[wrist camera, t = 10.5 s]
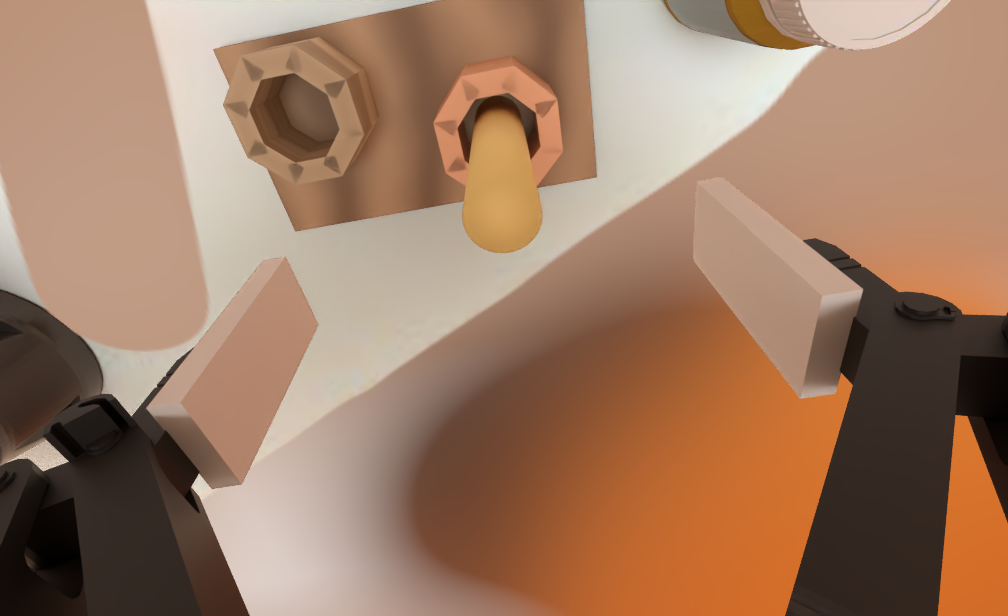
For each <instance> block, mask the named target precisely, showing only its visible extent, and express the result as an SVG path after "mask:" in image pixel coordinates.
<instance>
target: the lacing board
mask: <svg viewBox="0 0 1008 616" xmlns="http://www.w3.org/2000/svg"><path fill="white" fill-rule="evenodd" d="M316 37H321V38H322V39H323V40H325V41H326V42H328V43H329V44H331V45H332V46H334V47H335V48H337V49H338V50H339V51H341V52H342V53H344V54H345V55H347V56H348V57H350V58H351V59H353V60H354V61H355V62H357V63H358V64H360V65H361V66H363V67H364V68H365V71H366V75H367V78H368V81H369V84H370V88H371V91H372V94H373V97H374V101H375V104H376V107H377V111H378V114H379V118H378V120H377V122H376V124H375V126H374V128H373V130H372V131H371V133H370V135H369V137H368V139H367V141H366V143H365V145H364V147H363V148H362V150H361V152H360V154H359V155H358V157H357V158H356V159H355V161H354V162H353V163H352V164H351V166H350V167H349V168H348V170H347V171H346V172H345V173H344V175H343V176H341V177H335V178H330V179H325V180H319V181H314V182H309V183H303V184H298V185H295V184H293V183H292V182H290V181H288V180H286V179H285V178H283V177H281V176H279V175H278V174H276V173H274V172H272V171H271V170H269V169H267V170H268V172H269V174H270V176H271V179H272V181H273V183H274V185H275V187H276V190H277V192H278V194H279V196H280V198H281V201H282V203H283V205H284V207H285V209H286V212H287V214H288V216H289V218H290V221H291V223H292V225H293V227H294V229H295V231H301V230H306V229H312V228H317V227H323V226H328V225H334V224H340V223H345V222H351V221H356V220H362V219H367V218H373V217H378V216H384V215H390V214H395V213H401V212H406V211H412V210H417V209H423V208H428V207H434V206H439V205H445V204H451V203H456V202H462V201H464V197H465V189H466V186H465V185H463V184H462V183H460V182H459V181H457V180H455V179H454V178H452V177H451V176H449V175H448V174H446V172H445V168H444V164H443V160H442V156H441V152H440V148H439V144H438V140H437V136H436V132H435V128H434V124H433V123H434V120H435V118H436V115H437V113H438V111H439V108H440V106H441V104H442V103H443V101H444V99H445V98H446V96H447V94H448V92H449V91H450V89H451V87H452V86H453V84H454V82H455V81H456V79H457V77H458V75H459V74H460V72H461V70H462V69H463V67H464V65H467V64H472V63H476V62H481V61H486V60H491V59H496V58H501V57H506V56H511V55H512V56H513V57H514V58H515V59H517V60H518V61H519V62H521V63H522V64H523V65H524V66H526V67H527V68H528V69H530V70H531V71H532V72H533V73H535V74H536V75H537V76H539V77H540V78H541V79H542V80H544V81H545V82H546V83H548V84H549V85H550V87H551V89H552V91H553V92H554V94H555V96H556V98H557V101H558V110H559V119H560V128H561V137H562V146H563V152H562V154H561V155H560V156H559V158H558V159H557V160H556V162H555V163H554V164H553V166H552V167H551V168H550V170H549V171H548V172H547V174H546V175H545V176H544V178H543V179H542V180H541V182H540V183H539V184H538V186H537V188H539V187H545V186H550V185H556V184H562V183H567V182H573V181H578V180H584V179H589V178H595V177H597V173H596V160H595V147H594V133H593V120H592V107H591V94H590V81H589V68H588V55H587V41H586V28H585V15H584V2H583V0H439V1H435V2H430V3H426V4H421V5H416V6H412V7H407V8H402V9H398V10H393V11H388V12H384V13H379V14H374V15H370V16H365V17H360V18H356V19H351V20H346V21H342V22H337V23H333V24H328V25H323V26H319V27H314V28H309V29H305V30H300V31H295V32H291V33H286V34H281V35H277V36H272V37H267V38H263V39H258V40H253V41H249V42H244V43H239V44H235V45H230V46H226V47H221V48H217V49H213V50H214V53H215V55H216V57H217V59H218V61H219V64H220V66H221V68H222V70H223V72H224V75H225V77H226V79H227V81H228V84H229V86H230V84H231V82H232V79H233V76H234V73H235V70H236V68H237V65H238V62H239V59H240V57H241V56H242V55H246V54H249V53H253V52H256V51H260V50H263V49H267V48H270V47H274V46H279V45H283V44H288V43H293V42H297V41H302V40H307V39H311V38H316ZM499 95H500V96H505V97H507V98H509V99H511V100H512V101H513V102H514V103H515V104H516V105H517V107H518V108H519V111H520V114H521V118H522V123H523V127H524V132H525V136H526V140H527V138H528V137H529V135H530V134H531V132H532V131H533V130H534V128H535V124H534V117H533V110H531V109H530V108H529V107H527V106H526V105H525V104H523V103H522V102H521V101H519V100H518V99H517V98H515V97H514V96H513V95H511V94H510V93H504V94H499ZM494 96H496V95H494ZM279 97H280V99H281V102H282V104H283V107H284V109H285V111H286V114H287V116H288V119H289V121H290V124H291V126H293V127H295V128H296V129H298V130H300V131H301V132H303V133H305V134H306V135H308V136H309V137H311V138H313V139H314V140H316V141H318V142H321V141H326V140H331V139H335V138H336V136H337V134H338V132H339V130H340V129H339V126H338V123H337V120H336V118H335V115H334V112H333V109H332V106H331V104H330V101H329V98H328V95H327V94H326V93H324V92H323V91H321V90H320V89H318V88H317V87H315V86H314V85H312V84H310V83H309V82H307V81H306V80H304V79H303V78H301V77H300V76H298V75H297V74H295V73H292V74H287V76H286V79H285V81H284V83H283V86H282V88H281V91H280V93H279ZM489 97H491V96H489ZM489 97H484V98H479V99H475V100H474V102H473V104H472V105H471V107H470V108H469V110H468V112H467V113H466V115H465V117H464V118H463V121H464V126H465V130H466V135H467V139H468V141H469V142H471V143H472V136H473V129H474V121H475V114H476V111H477V108H478V107H479V105H480V104H481V103H482V102H483V101H484V100H485V99H487V98H489Z"/></svg>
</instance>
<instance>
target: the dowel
mask: <svg viewBox="0 0 1008 616" xmlns="http://www.w3.org/2000/svg"><path fill="white" fill-rule="evenodd" d="M462 219H463V225H464V228H465V230H466V232H467V234H468V236H469V237H470V238H471V240H472V241H473V242H474V243H476V244H477V245H478V246H480V247H481V248H483V249H485V250H488V251H491V252H495V253H509V252H513V251H516V250H519V249H521V248H523V247H525V246H526V245H528V244H529V243H530V242H531V241H532V240H533V239H534V238H535V236H536V235H537V233H538V231H539V229H540V226H541V223H542V208H541V203H540V199H539V194H538V190H537V185H536V181H535V176H534V172H533V167H532V163H531V159H530V154H529V150H528V145H527V141H526V136H525V132H524V127H523V123H522V118H521V114H520V111H519V108H518V107H517V105H516V104H515V103H514V102H513V101H512V100H511V99H509V98H507V97H505V96H500V95H496V96H491V97H489V98H487V99H485V100H484V101H483V102H482V103H481V104H480V105H479V107H478V108H477V111H476V114H475V121H474V129H473V136H472V144H471V151H470V159H469V167H468V174H467V182H466V189H465V197H464V205H463V213H462Z"/></svg>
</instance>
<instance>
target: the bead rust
mask: <svg viewBox="0 0 1008 616" xmlns="http://www.w3.org/2000/svg"><path fill="white" fill-rule="evenodd" d="M504 93H510V94H511V95H513V96H514V97H515V98H517V99H518V100H519V101H521V102H522V103H523V104H525V105H526V106H527V107H529V108H530V109H531V110H533V117H534V124H535V128H534V130H533V131H532V132H531V134H530V135H529V137H528V138H527V140H526V141H527V145H528V150H529V154H530V159H531V163H532V167H533V172H534V176H535V181H536V185H537V186H538V184H539V183H540V182H541V180H542V179H543V178H544V176H545V175H546V174H547V172H548V171H549V170H550V168H551V167H552V166H553V164H554V163H555V162H556V160H557V159H558V158H559V156H560V155H561V154H562V152H563V146H562V137H561V128H560V119H559V110H558V101H557V98H556V96H555V94H554V92H553V91H552V89H551V87H550V85H549V84H548V83H546V82H545V81H544V80H542V79H541V78H540V77H539V76H537V75H536V74H535V73H533V72H532V71H531V70H530V69H528V68H527V67H526V66H524V65H523V64H522V63H521V62H519V61H518V60H517V59H515V58H514V57H513V56H512V55H511V56H506V57H501V58H496V59H491V60H486V61H481V62H476V63H472V64H467V65H464V67H463V69H462V70H461V72H460V74H459V75H458V77H457V79H456V81H455V82H454V84H453V86H452V87H451V89H450V91H449V92H448V94H447V96H446V98H445V99H444V101H443V103H442V104H441V106H440V108H439V111H438V113H437V115H436V118H435V120H434V123H433V124H434V128H435V132H436V136H437V140H438V144H439V148H440V152H441V156H442V160H443V164H444V168H445V172H446V174H448V175H449V176H451V177H452V178H454V179H455V180H457V181H459V182H460V183H462V184H463V185H465V186H466V182H467V174H468V167H469V159H470V151H471V144H472V143H471V142H469V141H468V139H467V135H466V130H465V126H464V121H463V118H464V117H465V115H466V113H467V112H468V110H469V108H470V107H471V105H472V104H473V102H474V100H475V99H479V98H484V97H489V96H494V95H499V94H504Z"/></svg>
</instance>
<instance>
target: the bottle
mask: <svg viewBox="0 0 1008 616" xmlns="http://www.w3.org/2000/svg"><path fill="white" fill-rule="evenodd" d="M950 1H951V0H665V3H666V5H667V7H668V9H669V10H670V12H671V13H672V14H673V16H674V17H675V18H676V19H677V20H678V21H679V22H680V23H682V24H684V25H685V26H687V27H689V28H691V29H693V30H696V31H699V32H703V33H707V34H712V35H716V36H720V37H725V38H729V39H733V40H738V41H742V42H746V43H751V44H755V45H759V46H764V47H770V48H777V49H787V50H793V49H799V48H804V47H809V46H813V45H818V46H824V47H829V48H835V49H840V50H851V51H857V50H858V49H859V50H866V49H870V48H876V47H880V46H883V45H886V44H889V43H892V42H894V41H897V40H899V39H901V38H903V37H905V36H907V35H908V34H910V33H912V32H913V31H915V30H917V29H918V28H920V27H921V26H923V25H924V24H925V23H927V22H928V21H929V20H930V19H932V18H933V17H934V16H935V15H936V14H937V13H938V12H939V11H941V10H942V9H943V8H944V6H946V5H947V4H948V3H949V2H950Z"/></svg>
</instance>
